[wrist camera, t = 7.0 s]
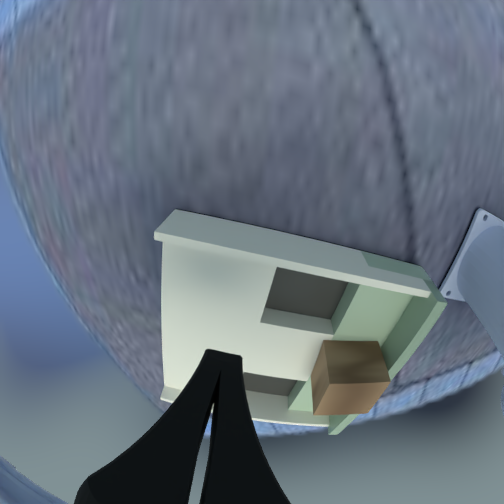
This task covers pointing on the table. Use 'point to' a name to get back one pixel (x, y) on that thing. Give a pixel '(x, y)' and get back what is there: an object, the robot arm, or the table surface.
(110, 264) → the table surface
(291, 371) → the board
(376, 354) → the walnut block
